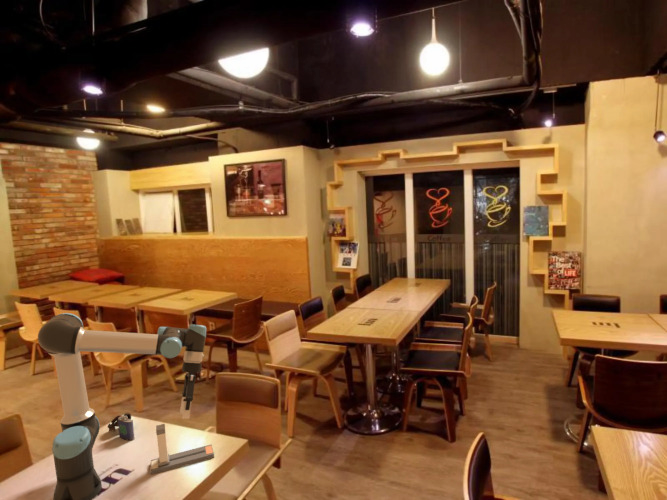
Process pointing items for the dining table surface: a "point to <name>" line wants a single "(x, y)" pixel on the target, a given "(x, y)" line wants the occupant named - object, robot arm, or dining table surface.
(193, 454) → the switch board
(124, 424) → the flask
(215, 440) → the dining table surface
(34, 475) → the dining table surface
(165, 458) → the lever
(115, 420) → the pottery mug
